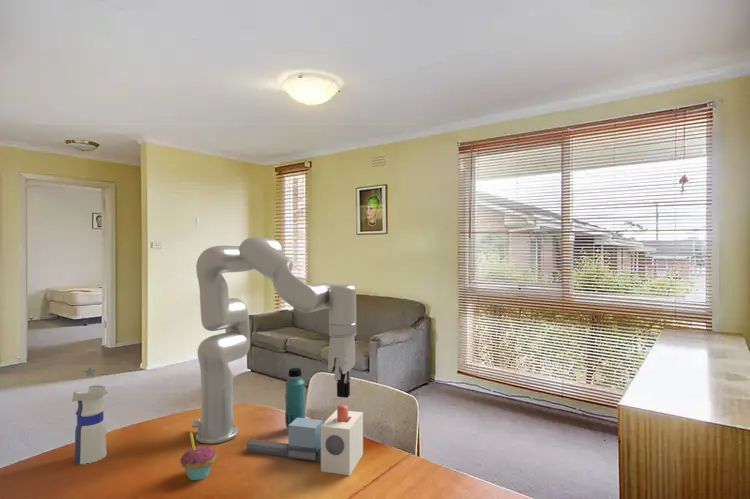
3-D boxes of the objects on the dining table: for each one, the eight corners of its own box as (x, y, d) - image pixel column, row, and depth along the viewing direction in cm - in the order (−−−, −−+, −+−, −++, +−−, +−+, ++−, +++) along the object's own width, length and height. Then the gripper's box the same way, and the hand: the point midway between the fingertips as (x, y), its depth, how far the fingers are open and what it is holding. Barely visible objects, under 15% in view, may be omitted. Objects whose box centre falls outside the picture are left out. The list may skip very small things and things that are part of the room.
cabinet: (320, 472, 113) (320, 426, 113) (336, 450, 125) (336, 409, 125) (349, 476, 111) (349, 429, 111) (362, 454, 123) (362, 412, 123)
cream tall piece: (64, 461, 119) (64, 371, 119) (96, 448, 126) (96, 363, 126) (81, 468, 115) (81, 375, 115) (113, 454, 123) (113, 367, 123)
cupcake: (181, 487, 106) (181, 438, 106) (179, 471, 113) (179, 426, 113) (218, 478, 110) (218, 432, 110) (214, 464, 117) (214, 420, 117)
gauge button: (335, 433, 117) (335, 407, 117) (339, 428, 120) (339, 403, 120) (346, 434, 116) (346, 408, 116) (349, 430, 119) (349, 404, 119)
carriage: (288, 456, 119) (288, 425, 119) (297, 447, 125) (297, 417, 125) (315, 460, 117) (315, 428, 117) (322, 450, 122) (322, 420, 122)
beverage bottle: (307, 426, 142) (307, 366, 142) (302, 434, 135) (302, 371, 135) (288, 425, 143) (288, 365, 143) (282, 434, 136) (282, 371, 136)
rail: (246, 452, 124) (246, 443, 124) (252, 447, 127) (252, 439, 127) (327, 463, 118) (327, 454, 118) (331, 458, 120) (331, 449, 120)
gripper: (339, 324, 126) (339, 386, 126) (319, 334, 112) (320, 404, 112) (363, 325, 124) (364, 388, 124) (346, 335, 110) (347, 407, 110)
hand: (343, 396), depth 118 cm, fingers closed
